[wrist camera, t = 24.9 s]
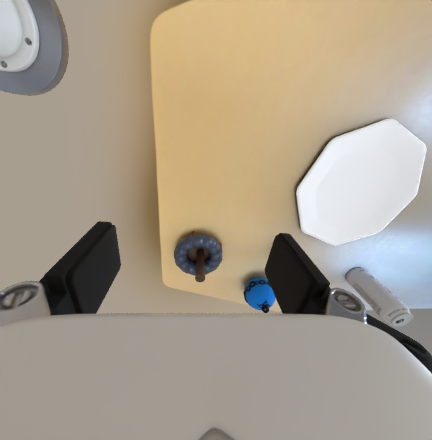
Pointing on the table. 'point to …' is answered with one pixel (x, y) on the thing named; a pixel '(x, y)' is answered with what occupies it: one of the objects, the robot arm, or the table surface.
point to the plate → (360, 182)
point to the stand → (199, 260)
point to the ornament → (259, 294)
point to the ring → (194, 242)
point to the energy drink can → (379, 297)
